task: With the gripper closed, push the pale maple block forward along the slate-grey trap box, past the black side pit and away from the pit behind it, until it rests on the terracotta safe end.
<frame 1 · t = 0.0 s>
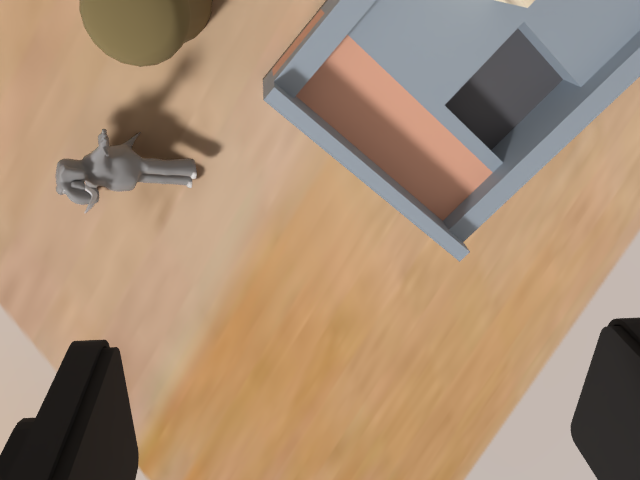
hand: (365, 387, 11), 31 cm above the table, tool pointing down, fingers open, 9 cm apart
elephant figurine: (132, 149, 40), on the table
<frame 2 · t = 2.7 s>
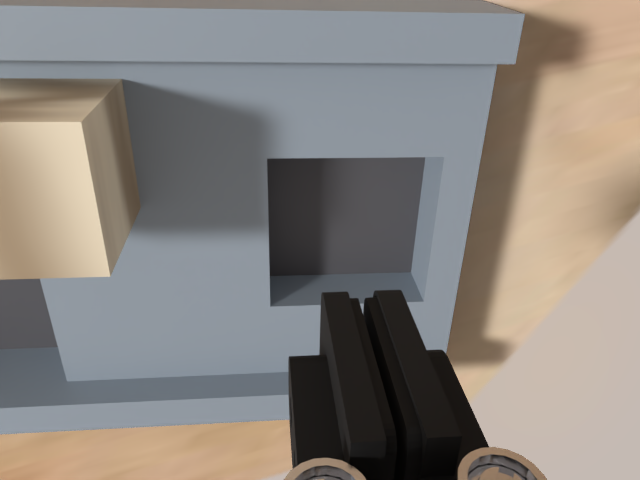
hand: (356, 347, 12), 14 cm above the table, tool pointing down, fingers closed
trap box: (101, 209, 25), on the table
maple block: (62, 147, 20), point 3 cm above the table, touching trap box
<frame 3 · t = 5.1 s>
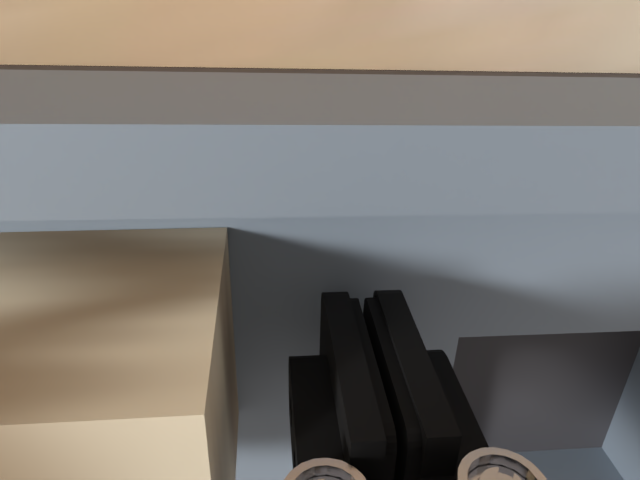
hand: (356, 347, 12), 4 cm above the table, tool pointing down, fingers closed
trap box: (165, 377, 16), on the table
maple block: (116, 333, 12), point 3 cm above the table, touching gripper
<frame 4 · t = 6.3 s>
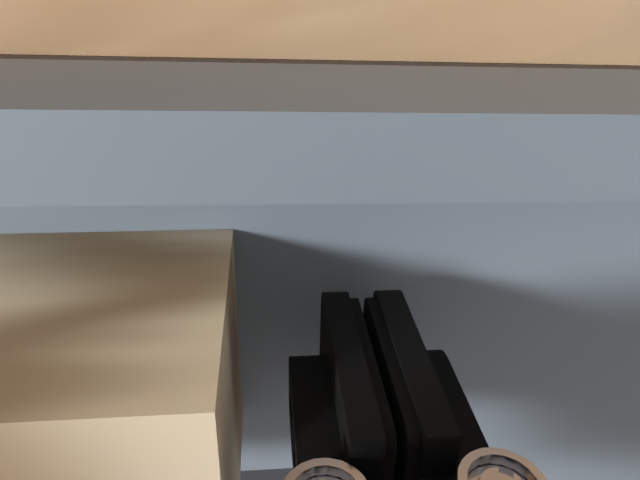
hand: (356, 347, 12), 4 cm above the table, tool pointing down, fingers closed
trap box: (393, 359, 17), on the table
maple block: (124, 332, 12), point 3 cm above the table, touching gripper
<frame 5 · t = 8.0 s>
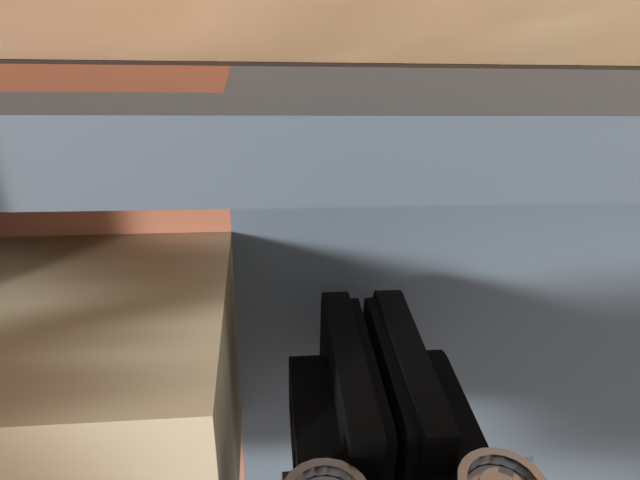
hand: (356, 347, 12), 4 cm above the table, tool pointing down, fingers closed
trap box: (559, 354, 18), on the table
maple block: (122, 335, 12), point 3 cm above the table, touching gripper, trap box
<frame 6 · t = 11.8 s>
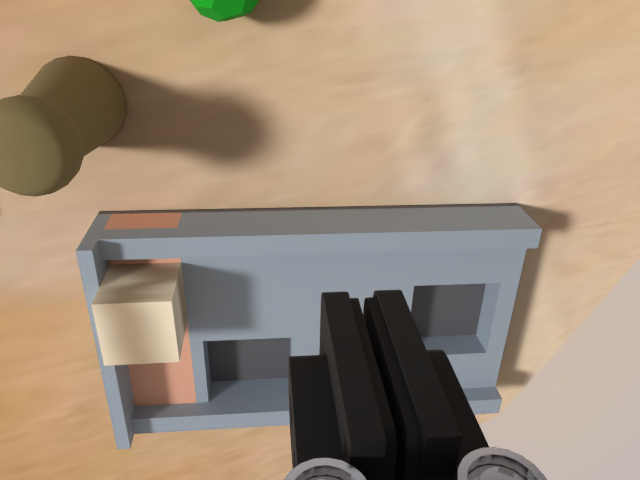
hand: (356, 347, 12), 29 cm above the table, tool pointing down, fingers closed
trap box: (313, 304, 46), on the table
cork: (80, 101, 37), on the table
maple block: (150, 292, 41), point 3 cm above the table, touching trap box
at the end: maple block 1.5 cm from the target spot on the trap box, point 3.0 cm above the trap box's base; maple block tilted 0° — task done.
